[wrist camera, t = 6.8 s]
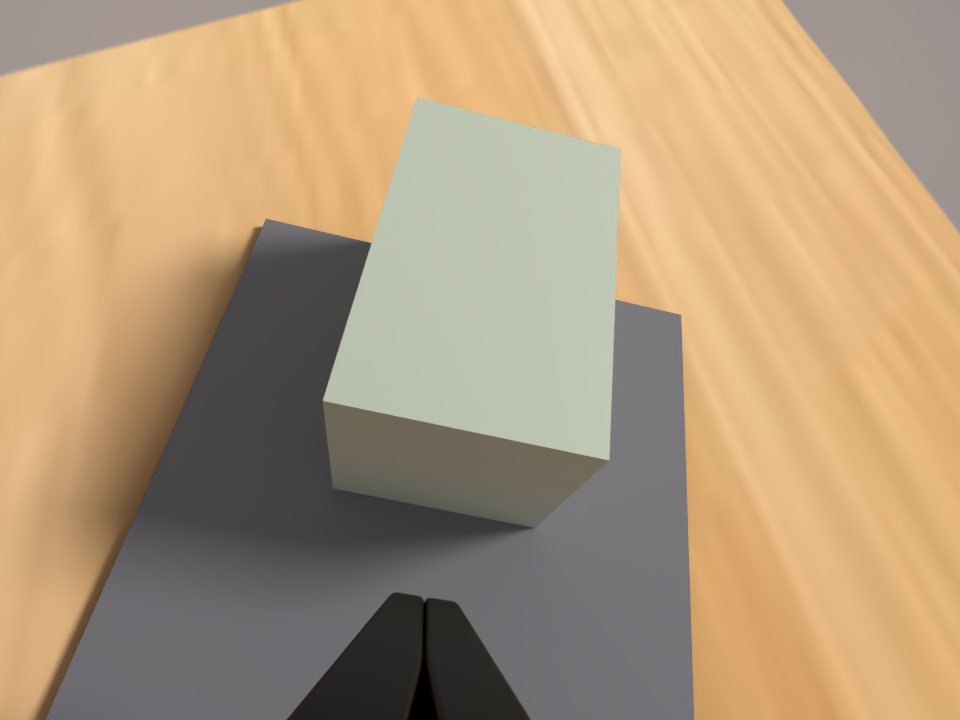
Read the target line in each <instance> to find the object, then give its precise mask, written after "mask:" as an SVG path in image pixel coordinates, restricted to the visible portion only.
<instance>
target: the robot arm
mask: <svg viewBox="0 0 960 720" xmlns="http://www.w3.org/2000/svg"><path fill="white" fill-rule="evenodd" d="M286 720H531V719H530V717H529V715H528V714H527V712H526V711H525V709H524V708H523V706H522V704H521V703H520V701H519V700H518V698H517V696H516V695H515V693H514V692H513V690H512V688H511V687H510V685H509V684H508V682H507V681H506V679H505V677H504V676H503V674H502V673H501V671H500V669H499V668H498V666H497V665H496V663H495V662H494V660H493V658H492V657H491V655H490V654H489V652H488V650H487V649H486V647H485V646H484V644H483V642H482V641H481V639H480V638H479V636H478V635H477V633H476V631H475V630H474V628H473V627H472V625H471V623H470V622H469V620H468V619H467V617H466V616H465V614H464V612H463V611H462V609H461V608H460V606H459V605H458V604H457V603H456V602H454V601H449V600H442V599H436V598H427V599H426V600H425V602H424V600H423V598H422V597H421V596H417V595H411V594H405V593H399V592H394V593H392V594H391V595H390V596H389V597H388V598H387V599H386V600H385V602H384V603H383V604H382V605H381V606H380V608H379V609H378V610H377V611H376V612H375V614H374V615H373V616H372V617H371V618H370V620H369V621H368V622H367V623H366V624H365V626H364V627H363V628H362V629H361V630H360V632H359V633H358V634H357V635H356V636H355V638H354V639H353V640H352V641H351V642H350V644H349V645H348V646H347V647H346V648H345V650H344V651H343V652H342V653H341V654H340V656H339V657H338V658H337V659H336V660H335V662H334V663H333V664H332V665H331V666H330V668H329V669H328V670H327V671H326V673H325V674H324V675H323V676H322V677H321V679H320V680H319V681H318V682H317V683H316V685H315V686H314V687H313V688H312V689H311V691H310V692H309V693H308V694H307V695H306V697H305V698H304V699H303V700H302V701H301V703H300V704H299V705H298V706H297V707H296V709H295V710H294V711H293V712H292V713H291V715H290V716H289V717H288V718H287V719H286Z"/></svg>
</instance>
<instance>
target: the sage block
mask: <svg viewBox="0 0 960 720" xmlns="http://www.w3.org/2000/svg"><path fill="white" fill-rule="evenodd" d="M620 157H621V149H618V148H614V147H610V146H606V145H602V144H598V143H594V142H590V141H586V140H582V139H579V138H575V137H571V136H567V135H563V134H559V133H555V132H551V131H547V130H543V129H539V128H535V127H531V126H527V125H523V124H520V123H516V122H512V121H508V120H504V119H500V118H496V117H492V116H488V115H484V114H480V113H476V112H472V111H468V110H464V109H461V108H457V107H453V106H449V105H445V104H441V103H437V102H433V101H429V100H425V99H421V98H417V99H416V102H415V105H414V108H413V112H412V115H411V118H410V121H409V125H408V128H407V131H406V134H405V137H404V141H403V144H402V147H401V150H400V153H399V157H398V160H397V163H396V166H395V170H394V173H393V176H392V179H391V182H390V186H389V189H388V192H387V195H386V199H385V202H384V205H383V208H382V211H381V215H380V218H379V221H378V224H377V227H376V231H375V234H374V237H373V240H372V244H371V247H370V250H369V253H368V256H367V260H366V263H365V266H364V269H363V273H362V276H361V279H360V282H359V285H358V289H357V292H356V295H355V298H354V301H353V305H352V308H351V311H350V314H349V318H348V321H347V324H346V327H345V330H344V334H343V337H342V340H341V343H340V347H339V350H338V353H337V356H336V359H335V363H334V366H333V369H332V372H331V375H330V379H329V382H328V385H327V388H326V392H325V395H324V398H323V408H324V417H325V425H326V434H327V443H328V451H329V460H330V469H331V477H332V486H333V489H338V490H343V491H349V492H354V493H359V494H364V495H369V496H374V497H379V498H384V499H389V500H395V501H400V502H405V503H410V504H415V505H420V506H425V507H430V508H435V509H440V510H446V511H451V512H456V513H461V514H466V515H471V516H476V517H481V518H486V519H491V520H497V521H502V522H507V523H512V524H517V525H522V526H527V527H532V528H536V527H537V526H538V525H539V524H540V523H541V522H542V521H543V520H545V519H546V518H547V517H548V516H549V515H550V514H551V513H552V512H553V511H554V510H556V509H557V508H558V507H559V506H560V505H561V504H562V503H563V502H564V501H565V500H566V499H568V498H569V497H570V496H571V495H572V494H573V493H574V492H575V491H576V490H577V489H579V488H580V487H581V486H582V485H583V484H584V483H585V482H586V481H587V480H588V479H590V478H591V477H592V476H593V475H594V474H595V473H596V472H597V471H598V470H599V469H601V468H602V467H603V466H604V465H605V464H606V463H607V462H608V461H609V458H610V431H611V403H612V376H613V349H614V321H615V294H616V267H617V239H618V212H619V184H620Z"/></svg>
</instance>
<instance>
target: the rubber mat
mask: <svg viewBox="0 0 960 720" xmlns="http://www.w3.org/2000/svg"><path fill="white" fill-rule="evenodd" d="M371 244H372V243H368V242H364V241H360V240H355V239H351V238H347V237H342V236H338V235H334V234H330V233H325V232H321V231H317V230H312V229H308V228H304V227H299V226H295V225H291V224H286V223H282V222H278V221H273V220H269V219H266V220H265V223H264V225H263V227H262V229H261V232H260V234H259V236H258V239H257V241H256V243H255V245H254V248H253V250H252V252H251V254H250V257H249V259H248V261H247V263H246V266H245V268H244V270H243V273H242V275H241V277H240V279H239V282H238V284H237V286H236V288H235V291H234V293H233V295H232V298H231V300H230V302H229V304H228V307H227V309H226V311H225V313H224V316H223V318H222V320H221V322H220V325H219V327H218V329H217V332H216V334H215V336H214V338H213V341H212V343H211V345H210V347H209V350H208V352H207V354H206V357H205V359H204V361H203V363H202V366H201V368H200V370H199V372H198V375H197V377H196V379H195V382H194V384H193V386H192V388H191V391H190V393H189V395H188V397H187V400H186V402H185V404H184V406H183V409H182V411H181V413H180V416H179V418H178V420H177V422H176V425H175V427H174V429H173V431H172V434H171V436H170V438H169V441H168V443H167V445H166V447H165V450H164V452H163V454H162V456H161V459H160V461H159V463H158V466H157V468H156V470H155V472H154V475H153V477H152V479H151V481H150V484H149V486H148V488H147V490H146V493H145V495H144V497H143V500H142V502H141V504H140V506H139V509H138V511H137V513H136V515H135V518H134V520H133V522H132V525H131V527H130V529H129V531H128V534H127V536H126V538H125V540H124V543H123V545H122V547H121V550H120V552H119V554H118V556H117V559H116V561H115V563H114V565H113V568H112V570H111V572H110V574H109V577H108V579H107V581H106V584H105V586H104V588H103V590H102V593H101V595H100V597H99V599H98V602H97V604H96V606H95V609H94V611H93V613H92V615H91V618H90V620H89V622H88V624H87V627H86V629H85V631H84V634H83V636H82V638H81V640H80V643H79V645H78V647H77V649H76V652H75V654H74V656H73V658H72V661H71V663H70V665H69V668H68V670H67V672H66V674H65V677H64V679H63V681H62V683H61V686H60V688H59V690H58V693H57V695H56V697H55V699H54V702H53V704H52V706H51V708H50V711H49V713H48V715H47V717H46V720H286V719H287V718H288V717H289V716H290V715H291V713H292V712H293V711H294V710H295V709H296V707H297V706H298V705H299V704H300V703H301V701H302V700H303V699H304V698H305V697H306V695H307V694H308V693H309V692H310V691H311V689H312V688H313V687H314V686H315V685H316V683H317V682H318V681H319V680H320V679H321V677H322V676H323V675H324V674H325V673H326V671H327V670H328V669H329V668H330V666H331V665H332V664H333V663H334V662H335V660H336V659H337V658H338V657H339V656H340V654H341V653H342V652H343V651H344V650H345V648H346V647H347V646H348V645H349V644H350V642H351V641H352V640H353V639H354V638H355V636H356V635H357V634H358V633H359V632H360V630H361V629H362V628H363V627H364V626H365V624H366V623H367V622H368V621H369V620H370V618H371V617H372V616H373V615H374V614H375V612H376V611H377V610H378V609H379V608H380V606H381V605H382V604H383V603H384V602H385V600H386V599H387V598H388V597H389V596H390V595H391V594H392V593H394V592H399V593H405V594H411V595H417V596H421V597H422V598H423V600H424V602H425V600H426V599H427V598H436V599H442V600H449V601H454V602H456V603H457V604H458V605H459V606H460V608H461V609H462V611H463V612H464V614H465V616H466V617H467V619H468V620H469V622H470V623H471V625H472V627H473V628H474V630H475V631H476V633H477V635H478V636H479V638H480V639H481V641H482V642H483V644H484V646H485V647H486V649H487V650H488V652H489V654H490V655H491V657H492V658H493V660H494V662H495V663H496V665H497V666H498V668H499V669H500V671H501V673H502V674H503V676H504V677H505V679H506V681H507V682H508V684H509V685H510V687H511V688H512V690H513V692H514V693H515V695H516V696H517V698H518V700H519V701H520V703H521V704H522V706H523V708H524V709H525V711H526V712H527V714H528V715H529V717H530V719H531V720H694V704H693V673H692V642H691V610H690V579H689V548H688V516H687V485H686V454H685V423H684V391H683V360H682V329H681V315H679V314H674V313H670V312H666V311H661V310H657V309H653V308H649V307H644V306H640V305H636V304H631V303H627V302H623V301H618V300H615V321H614V349H613V376H612V403H611V431H610V458H609V461H608V462H607V463H606V464H605V465H604V466H603V467H602V468H601V469H599V470H598V471H597V472H596V473H595V474H594V475H593V476H592V477H591V478H590V479H588V480H587V481H586V482H585V483H584V484H583V485H582V486H581V487H580V488H579V489H577V490H576V491H575V492H574V493H573V494H572V495H571V496H570V497H569V498H568V499H566V500H565V501H564V502H563V503H562V504H561V505H560V506H559V507H558V508H557V509H556V510H554V511H553V512H552V513H551V514H550V515H549V516H548V517H547V518H546V519H545V520H543V521H542V522H541V523H540V524H539V525H538V526H537V527H536V528H532V527H527V526H522V525H517V524H512V523H507V522H502V521H497V520H491V519H486V518H481V517H476V516H471V515H466V514H461V513H456V512H451V511H446V510H440V509H435V508H430V507H425V506H420V505H415V504H410V503H405V502H400V501H395V500H389V499H384V498H379V497H374V496H369V495H364V494H359V493H354V492H349V491H343V490H338V489H333V486H332V477H331V469H330V460H329V451H328V443H327V434H326V425H325V417H324V408H323V398H324V395H325V392H326V388H327V385H328V382H329V379H330V375H331V372H332V369H333V366H334V363H335V359H336V356H337V353H338V350H339V347H340V343H341V340H342V337H343V334H344V330H345V327H346V324H347V321H348V318H349V314H350V311H351V308H352V305H353V301H354V298H355V295H356V292H357V289H358V285H359V282H360V279H361V276H362V273H363V269H364V266H365V263H366V260H367V256H368V253H369V250H370V247H371Z"/></svg>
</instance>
